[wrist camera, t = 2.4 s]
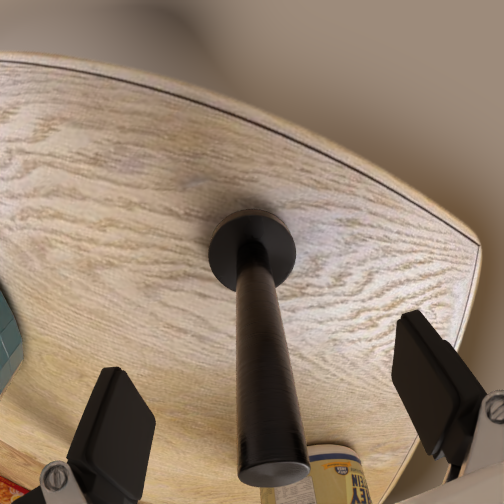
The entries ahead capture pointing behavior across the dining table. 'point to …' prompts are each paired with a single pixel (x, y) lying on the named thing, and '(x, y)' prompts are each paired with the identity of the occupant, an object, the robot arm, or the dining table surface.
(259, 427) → the black post stand
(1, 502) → the pasta box
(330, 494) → the supplement tub
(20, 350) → the bowl
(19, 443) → the dining table surface
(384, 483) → the dining table surface
